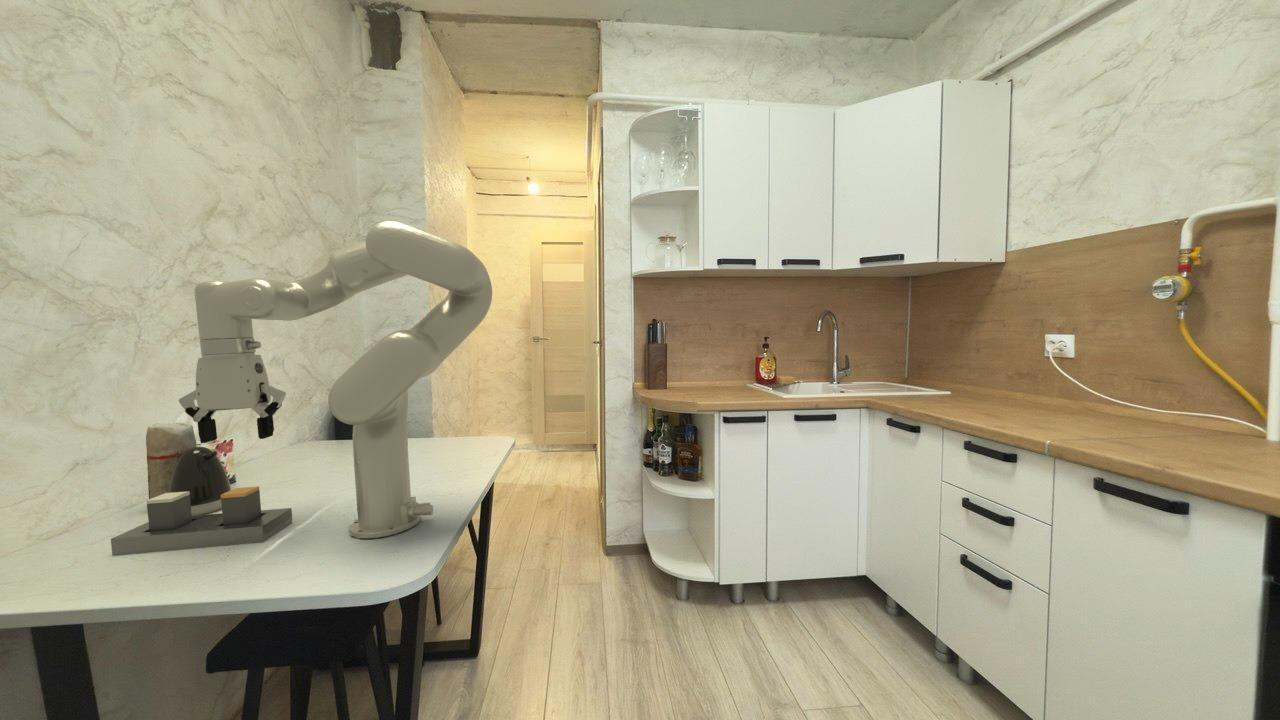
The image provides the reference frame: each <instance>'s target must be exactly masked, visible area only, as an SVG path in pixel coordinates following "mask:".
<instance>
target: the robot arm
mask: <svg viewBox="0 0 1280 720" xmlns="http://www.w3.org/2000/svg"><path fill="white" fill-rule="evenodd" d="M406 276H410V277H413V278H416V279H418V280H421V281H423V282H427V283H430V284H432V285H435V286H438V287H440V288H443V289H445V290H447V291H448V294H447V295H446V296H445V298H444V299H442V301H441V302H439V303H438V304H436V305H435V306H434V307H433V308H432V309H431V310H430V311H428V313H427V314H426V315H425V316H424V317H423V318H422V319H420V321H418V322H417V323H416V324H415V325H413V327H411V328H409V329H399V330H395V331H393V332H390V333H388V334H387V335H384V336H383V337H382V338H381V339H379V340H378V341H377V342H376V343H375V344H374V345H373V346H371V347H370V348H369V349H368V350H367V351H366V352H365V353H364V354H363V355H362V356H361V357H359V359H357V360H356V361H355V362H354V363H353V364H352V365H351V366H350V367H349V368H347V370H346V371H344V373H342V374H341V376H339V378H338V379H337V380H336V381H335V382H334V383H333V385H332V386H331V388H330V390H329V393H328V399H327V400H328V407H329V410H330V413H331V414H332V415H333V416H334V418H336V419H337V420H338V421H339V422H342V423H343V424H347V425H353V426H352V457H353V470H354V482H355V485H354V486H355V498H356V500H355V501H356V513H357V514H356V515H357V519H355V520H354V521H352V523H350V525H349V527H348V529H349V530H348V531H349V532H348V533H349V535H350V536H352V537H353V538H357V539H376V538H384V537H388V536H392V535H395V534H396V535H397V534H399V533H402V532H404V531H406V530H409V529H412V528H413V527H416V525H418V523H420V521H421V520H422V519H421V517H422V516H423V517H424V516H432V515H433V514H434V505H433V504H431V502H422V503H421V502H420V503H419V502H417V496H412V492H411V477H410V464H409V463H410V462H409V442H408V441H409V439H408V438H409V437H408V411H409V410H408V409H409V408H408V407H409V392H408V390H410V388H411V387H413V385H415V384H416V383H417V382H418V381H419V380H420V379H423V378H425V377H428V376H430V375H431V374H433V373H434V372H435V371H437V369H438V368H439V367H440V365H441V364H442V363H444V361H445V360H446V359H447V358H448V357H449V356H450V355H451V354H452V353H453V352H455V350H456V349H457V348H458V347H460V345H461V344H462V343H463V342H464V341H465V339H467V338H468V337H469V336H470V335H471V334H472V332H474V331H475V330H476V328H478V327H479V326H480V324H481V323H482V322H483V321H484V319H485V318H486V316H487V314H488V312H489V310H490V308H491V305H492V302H493V301H492V300H493V286H492V282H491V278H490V275H489V272H488V270H487V268H486V267H485V265H484V263H483V262H482V260H481V259H480V258H479V257H477V255H475V253H473V252H472V251H471V250H469V248H467V247H465V246H463V245H461V244H458V243H456V242H453V241H451V240H448V239H445V238H443V237H439V236H437V235H435V234H432V233H430V232H427V231H424V230H421V229H419V228H416V227H414V226H412V225H409V224H406V223H405V222H401V221H398V220H382V221H380V222H377V223H375V224H374V225H373V226H372V227H371V228H369V230H368V232H367V234H366V236H365V240H363V241H361V242H358V243H354V244H351V245H348V246H345V247H344V248H341V249H340V248H339V249H337V250H334V251H333V252H331V253H330V254H329V256H328V263H327V264H326V265H325V267H324V268H323V269H321V270H320V271H317V272H316V273H314V274H311V275H308V276H306V277H303V278H299V279H297V280H294V281H290V282H285V281H279V280H275V279H269V278H268V279H267V278H260V277H256V278H248V279H247V278H246V279H242V280H241V279H240V280H236V281H235V280H234V281H224V280H217V281H216V280H213V281H212V280H211V281H210V280H209V281H202V282H199V283H197V284H196V285H195V287H194V299H195V300H194V301H195V308H196V317H197V318H196V320H197V326H198V327H197V328H198V335H199V336H198V337H199V344H200V345H199V347H200V355H201V357H199V358H198V359H197V362H196V367H195V369H196V370H195V390H193V391H192V392H190V393H188V394H186V395H184V396H182V397H180V398H179V399H178V402H179V404H180V405H181V407H182V409H184V411H185V413H186V415H188V416H189V417H190V418H192V421H193V422H195V423H196V424H197V430H198V437H199V442H200V444H207V443H209V442H210V443H211V442H213V441H216V440H217V439H218V434H217V433H218V432H217V423H216V419H215V418H212V417H213V416H214V415H215V413H216V412H217V411H232V410H243V409H244V410H247V409H251V410H253V411H254V412H255V413H256V414H257V415H258V416H259V417H257V418H256V426H257V434H258V439H259V440H261V439H262V440H264V439H267V438H269V437H273V436H274V432H275V424H274V418H273V417H274V415H276V413H277V412H278V411H279V409H280V408H282V405H283V404H282V403H283V402H284V400H285V398H286V395H287V393H286V392H285V391H284V390H282V389H278V388H275V387H273V386H270V382H269V376H268V373H267V369H266V366H265V362H264V361H263V359H262V355H261V354H256V349H260V348H261V347H262V343H261V341H258V340H257V341H256V340H255V338H254V329H253V328H254V327H253V320H264V321H285V322H287V321H288V322H290V321H297V320H300V319H304V318H307V317H310V316H312V315H315V314H318V313H321V312H324V311H327V310H329V309H331V308H333V307H336V306H338V305H340V304H342V303H344V302H346V301H347V300H348V299H351V298H352V297H354V296H355V295H357V294H359V293H362V292H364V291H367V290H370V289H373V288H375V287H379V286H381V285H383V284H386V283H389V282H392V281H394V280H397V279H399V278H403V277H406ZM271 400H272V401H271ZM195 401H196V403H197V405H196V404H195Z"/></svg>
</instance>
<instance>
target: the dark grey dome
mask: <svg viewBox="0 0 1280 720" xmlns="http://www.w3.org/2000/svg"><path fill="white" fill-rule="evenodd" d="M217 455H218V451H217V450H211V449H210V448H208V447H206V446H196V447H193V448H190V449H188V450H186V451H185V452H183V453H182V454H181V456H180V457H179V459H178V460H177V462H176V464H175V467H174V469H173V472H172V475H171V479H170V483H169V489H168V493H174V492H188V491H189V493H190V503H191V514H192V516H196V515H208V514H212V513H214V512H216V511H219V510H222V505H221V495H222V494H224V493H226V492H228V491H231V490H232V487H231V483H230V480H229V475H228V474H227V471H226V470H225V467H224V465H223V464H222V462H221V460H220V459H219V457H218V456H217Z"/></svg>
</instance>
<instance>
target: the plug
mask: <svg viewBox="0 0 1280 720" xmlns="http://www.w3.org/2000/svg"><path fill="white" fill-rule="evenodd" d="M260 493H261V492H260V486H258V485H257V486H244V487H234V488H233V489H231V491H228V492H226V493H224V494H222V495H221V505H222V509H221V513H222V516H223V526H229V525H241V524H249V523H251V522H253V521H255V520H256V519H258V518H260V517H261V516H262V515H261V510H262V503H261V494H260Z"/></svg>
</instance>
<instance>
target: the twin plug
mask: <svg viewBox="0 0 1280 720" xmlns="http://www.w3.org/2000/svg"><path fill="white" fill-rule="evenodd" d="M146 510H147V519H148V521H147V522H149V531H150V532H156V531H168V530H176V529H178V528H180V527H182V526H184V525H186V524H188V523H190V522H192V514H191V503H190V493H189V491H188V492H174V493H165V494H162V495H159V496H157V497H154V498H152V499H149V498H148V499H147V500H146Z"/></svg>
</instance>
